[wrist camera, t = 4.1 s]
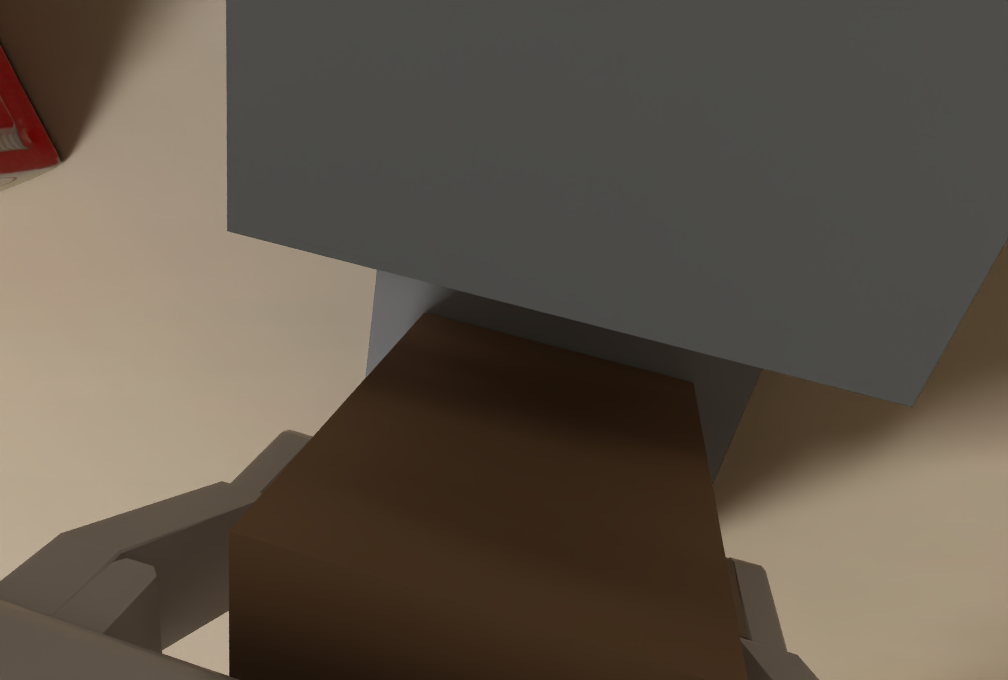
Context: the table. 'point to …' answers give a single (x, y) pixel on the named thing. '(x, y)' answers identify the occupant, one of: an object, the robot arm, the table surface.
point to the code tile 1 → (570, 347)
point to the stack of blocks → (20, 133)
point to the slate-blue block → (645, 163)
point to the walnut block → (489, 527)
